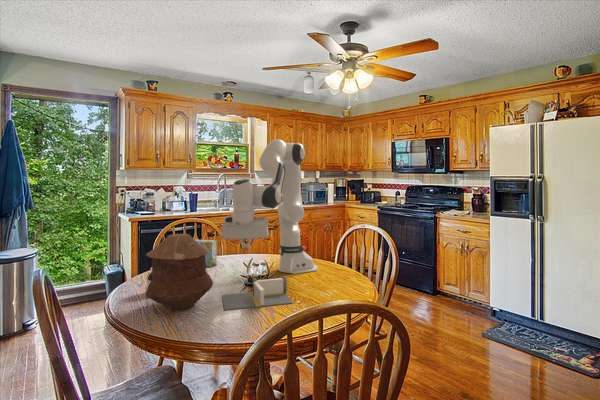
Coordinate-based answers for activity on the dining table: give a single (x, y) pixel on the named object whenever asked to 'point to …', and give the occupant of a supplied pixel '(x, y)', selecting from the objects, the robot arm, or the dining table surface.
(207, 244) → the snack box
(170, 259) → the pottery vessel
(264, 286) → the block
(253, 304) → the card
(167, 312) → the dining table surface
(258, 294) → the hinged panel
